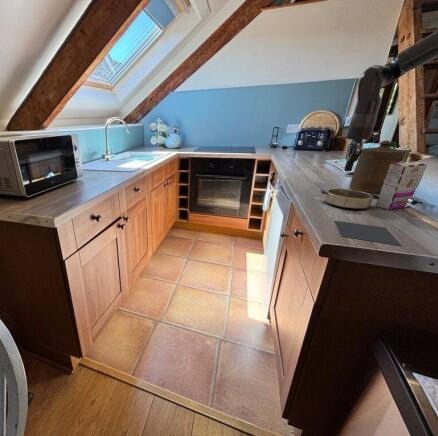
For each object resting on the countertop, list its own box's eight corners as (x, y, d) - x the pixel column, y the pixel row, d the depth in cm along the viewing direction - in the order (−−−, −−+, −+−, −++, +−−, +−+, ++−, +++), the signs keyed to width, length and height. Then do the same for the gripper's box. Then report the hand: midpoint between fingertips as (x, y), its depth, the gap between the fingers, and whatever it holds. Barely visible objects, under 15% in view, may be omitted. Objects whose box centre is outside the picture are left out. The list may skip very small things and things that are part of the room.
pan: (368, 202, 97) (372, 191, 95) (380, 213, 86) (384, 201, 84) (316, 196, 105) (319, 186, 103) (320, 206, 93) (323, 195, 92)
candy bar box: (394, 203, 96) (411, 161, 89) (410, 207, 91) (429, 163, 85) (373, 206, 93) (389, 163, 87) (388, 210, 89) (406, 165, 82)
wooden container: (394, 195, 104) (415, 142, 96) (351, 191, 112) (367, 141, 103) (386, 187, 116) (403, 139, 108) (347, 184, 123) (361, 138, 115)
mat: (385, 227, 75) (385, 227, 75) (401, 246, 65) (401, 245, 65) (334, 220, 81) (334, 220, 81) (341, 236, 70) (341, 236, 70)
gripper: (379, 126, 86) (363, 175, 93) (368, 125, 97) (355, 168, 104) (353, 126, 90) (339, 173, 96) (345, 125, 100) (333, 167, 107)
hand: (347, 170), depth 100 cm, fingers closed
